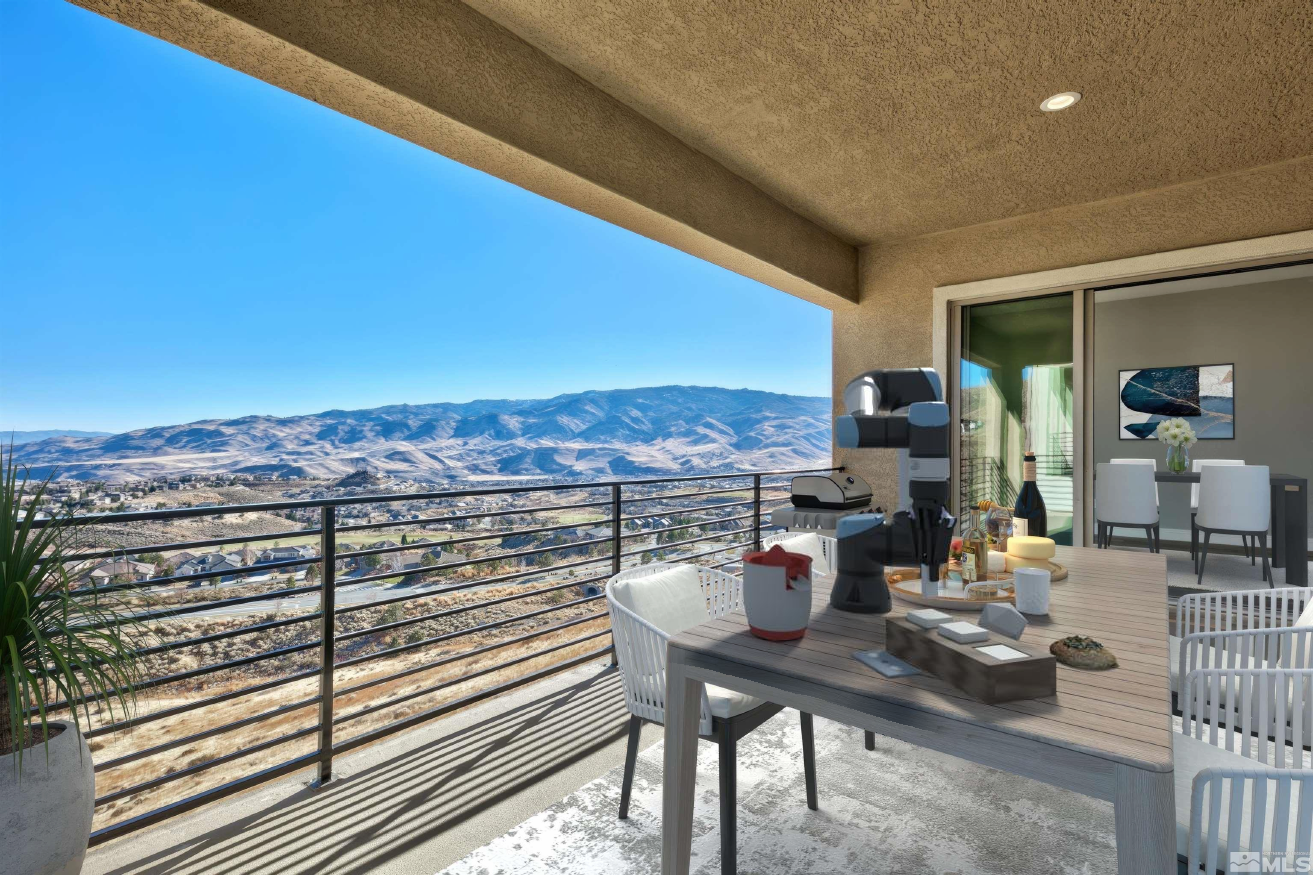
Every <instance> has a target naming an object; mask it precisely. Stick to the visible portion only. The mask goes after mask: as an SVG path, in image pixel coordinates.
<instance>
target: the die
mask: <svg viewBox="0 0 1313 875" xmlns="http://www.w3.org/2000/svg"><path fill="white" fill-rule="evenodd" d="M1028 621H1029V620H1027V619H1026V618H1025V617H1024V616H1023V615H1022V614H1021V613H1020V611H1018V610H1017V609H1016V607H1015V606H1014V605H1013V604H1012V603H1011V602H986V603H985V606H984V608H983V611H982V612H981V615H980V617H979V619H978V622H977V623H976V625H977V626H980V627H982V628H985V629H987V630H990V631H992V632H995V633H998V634H1000V635H1003V636H1005V637H1008V638H1011V639H1013V640H1016V641H1018V642H1020V640H1021V637H1022V636H1023V633H1024V630H1025V629H1026V627H1027V625H1028Z"/></svg>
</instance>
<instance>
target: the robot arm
mask: <svg viewBox="0 0 1313 875" xmlns="http://www.w3.org/2000/svg"><path fill="white" fill-rule="evenodd" d="M842 398H843V404H844V406H845V407H846V411H845V415H838V416H836V418H835V445H836V447H837V448H839V449H849V450H861V449H862V450H867V449H869V450H873V449H874V450H876V449H877V450H880V449H884V450H885V449H888V450H889V449H890V450H891V449H895V450H896V449H897V479H898V480H897V481H898V482H897V484H898V508H897V509H896V510H895V511H894V512H893V513H892V519H886V517H885V515H883V513H861V514H860V513H859V514H853V515H847V516H845V517H844V516H843V517H842V518H840V519H839V520H838V521H837V523H836V535H835V539H836V576H835V579H834V581H833V585H832V589H831V592H830V595H829V604H830V606H831V607H833V608H834V609H837V610H840V611H844V612H847V613H848V612H849V613H854V614H868V615H869V614H870V615H871V614H883V613H887V612H889V611H891V610H892V608H893V598H892V596H891V592H890V590H889V587H888V584H887V581H886V578H885V567H890V568H891V567H892V568H905V569H907V568H909V569H919V572H920V574H919V576H920V579H921V580H920V581H921V597H922V598H925V599H933V598H939V581H940V569H942V568H943V567H944V566H945V564H948V562H949V558H950V553H951V551H950V550H951V545H952V540H953V539H952V538H953V534H954V529H955V527H956V524H957V523H958V518H957V517H956V516H952V515H950V513H949V512H948V506H947V502H946V501H947V500H949V499H950V497H951V496H950V495H951V492H950V489H951V487H950V485H951V484H950V481H949V480H947V479H949V478H950V477H951V475H950V473H951V471H950V470H951V468H950V466H951V465H950V464H951V463H950V461H951V460H950V421H951V417H950V411H949V410H950V409H949V405H948V404H947V403H946V402H944V398H943V387H942V382H941V378H940V375H939V373H938V371H937V370H936V369H934V368H932V367H920V366H917V367H908V368H905V367H904V368H886V369H885V368H877V369H872V370H869V371H865V372H863V373H861V374H859V375H857V376H856V377H854V378H853V379H852V380H850V381H849V382H848V383H847V385H846V386H845V389H844V391H843V396H842ZM879 412H890V414H879Z"/></svg>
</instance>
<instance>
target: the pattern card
mask: <svg viewBox="0 0 1313 875" xmlns="http://www.w3.org/2000/svg"><path fill="white" fill-rule="evenodd" d="M850 656H851V657H852V658H855V660H858V661H860V662H861V663H863V664H865V665H867V666H868V667H869V668H871V669H873V670H875V671H877V672H878V673H879V674H882V675H883V676H885V677H886V678H889V679H891V678H899V677H906V676H912V675H913V676H914V675H920V674H922V671H921V670H920V669H918V668H917V667H914V666H912V664H911V665H910V663H909V664H908V662H904V661H903V660H901V659H899V658H898V657H895V655H893V654H890V653H888V652H887V651H884V650H882V649H877V650H868V651H859V652H853V653H850Z"/></svg>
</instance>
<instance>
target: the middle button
mask: <svg viewBox="0 0 1313 875" xmlns="http://www.w3.org/2000/svg"><path fill="white" fill-rule="evenodd" d="M967 622H968V621H967ZM967 622H955V623H946V624H938V633H939V634H941V635H944V636H946V637H948V638H950V639H953V640H955V641H957V642H960V643H968V642H976V641H984V640H989V631H988V630H985V629H982V628H980V627H977V626H978V625H977V626H975V625H976V624H974V625H972V624H973V623H972V624H970V623H971V622H969V623H967Z"/></svg>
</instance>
